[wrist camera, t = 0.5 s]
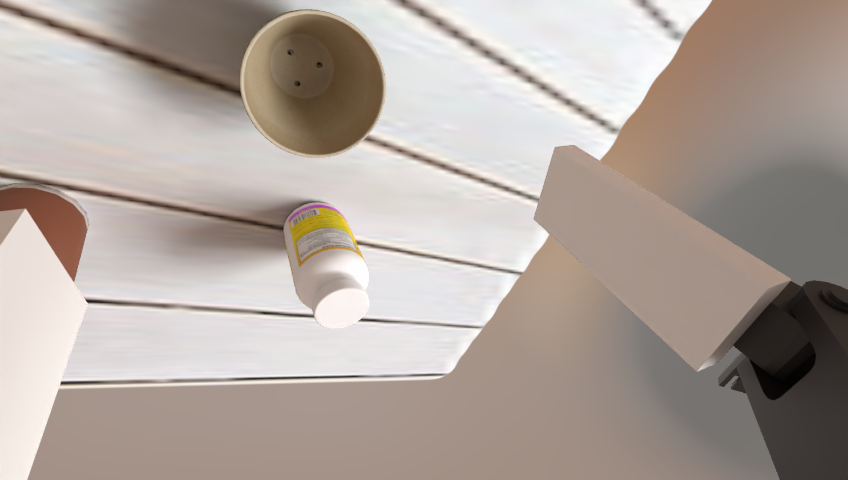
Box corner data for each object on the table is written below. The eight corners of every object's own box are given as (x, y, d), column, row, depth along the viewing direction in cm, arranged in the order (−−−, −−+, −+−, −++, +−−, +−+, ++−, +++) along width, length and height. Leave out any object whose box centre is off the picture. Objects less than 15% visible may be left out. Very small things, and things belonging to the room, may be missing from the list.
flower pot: (234, 116, 33) (237, 150, 27) (238, -23, 27) (242, -12, 22) (350, 132, 37) (371, 164, 32) (371, 16, 32) (400, 33, 27)
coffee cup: (-53, 153, 27) (-184, 258, 18) (113, 182, 32) (72, 275, 23) (-41, 256, 31) (-144, 384, 22) (105, 267, 36) (68, 375, 27)
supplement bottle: (331, 255, 45) (361, 339, 36) (273, 244, 41) (289, 336, 32) (355, 207, 42) (392, 285, 33) (295, 191, 39) (319, 274, 29)
